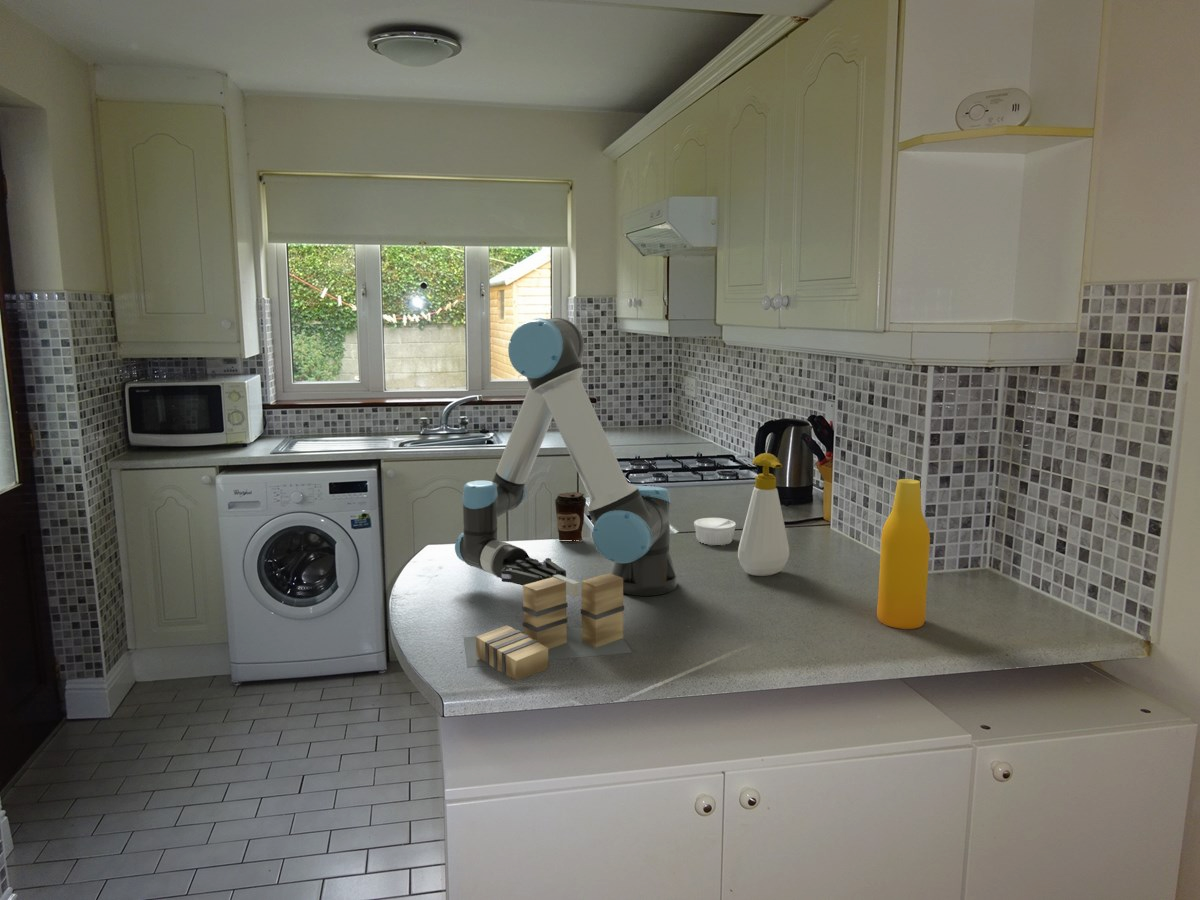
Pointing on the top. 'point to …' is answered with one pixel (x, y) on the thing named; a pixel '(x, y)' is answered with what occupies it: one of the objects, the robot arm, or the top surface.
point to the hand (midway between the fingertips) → (576, 589)
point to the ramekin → (714, 531)
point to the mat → (558, 648)
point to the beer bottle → (904, 560)
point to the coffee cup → (570, 516)
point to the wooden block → (545, 612)
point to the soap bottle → (764, 525)
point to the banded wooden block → (602, 609)
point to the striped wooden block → (511, 652)
